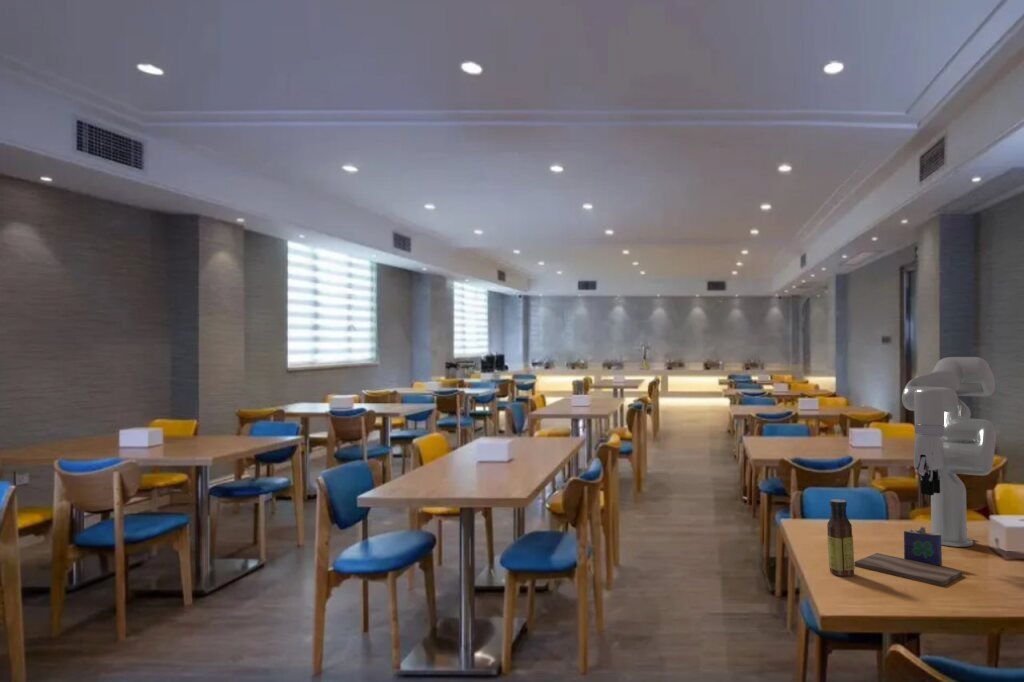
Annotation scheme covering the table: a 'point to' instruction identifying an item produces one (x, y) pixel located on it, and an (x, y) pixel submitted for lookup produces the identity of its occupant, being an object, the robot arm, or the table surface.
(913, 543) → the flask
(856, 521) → the table surface
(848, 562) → the sauce bottle
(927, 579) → the walnut board
